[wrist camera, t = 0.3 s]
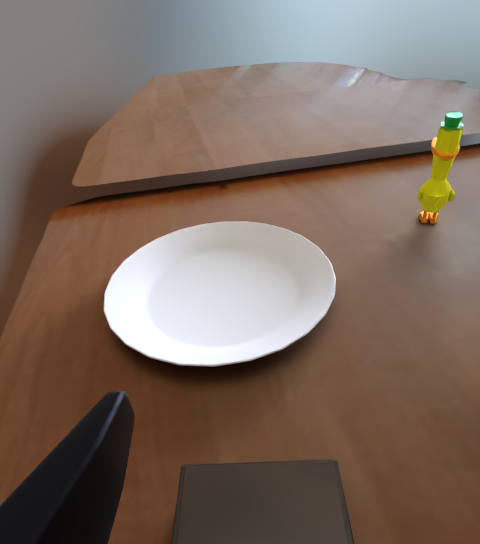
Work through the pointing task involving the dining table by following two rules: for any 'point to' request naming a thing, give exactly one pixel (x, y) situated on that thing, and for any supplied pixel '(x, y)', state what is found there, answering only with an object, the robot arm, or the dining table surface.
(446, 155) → the toy figure
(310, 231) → the dining table surface
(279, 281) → the plate
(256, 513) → the stand
